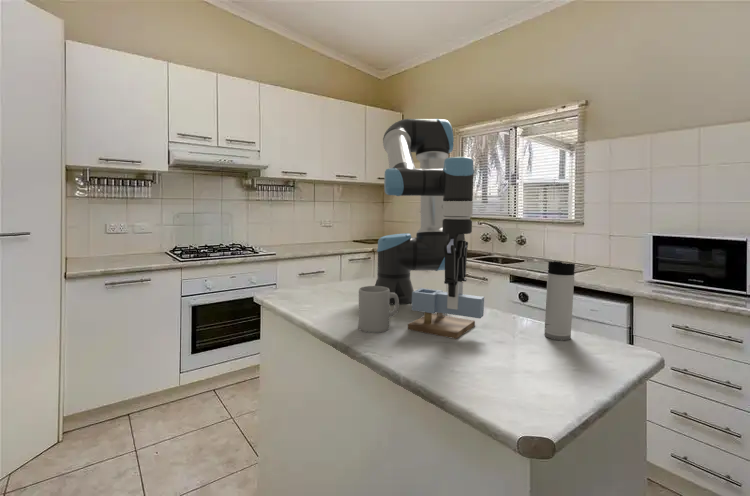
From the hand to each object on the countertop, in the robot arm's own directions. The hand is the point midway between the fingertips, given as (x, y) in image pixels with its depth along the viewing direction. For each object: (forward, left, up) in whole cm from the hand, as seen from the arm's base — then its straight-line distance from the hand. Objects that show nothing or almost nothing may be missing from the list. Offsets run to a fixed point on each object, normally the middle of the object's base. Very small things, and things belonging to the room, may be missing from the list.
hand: (454, 306), depth 109 cm
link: (0, -2, -2) cm, 3 cm away
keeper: (-6, -5, -6) cm, 10 cm away
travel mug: (-12, +23, -7) cm, 27 cm away
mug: (+7, -19, -7) cm, 22 cm away
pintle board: (-2, -5, -7) cm, 9 cm away
